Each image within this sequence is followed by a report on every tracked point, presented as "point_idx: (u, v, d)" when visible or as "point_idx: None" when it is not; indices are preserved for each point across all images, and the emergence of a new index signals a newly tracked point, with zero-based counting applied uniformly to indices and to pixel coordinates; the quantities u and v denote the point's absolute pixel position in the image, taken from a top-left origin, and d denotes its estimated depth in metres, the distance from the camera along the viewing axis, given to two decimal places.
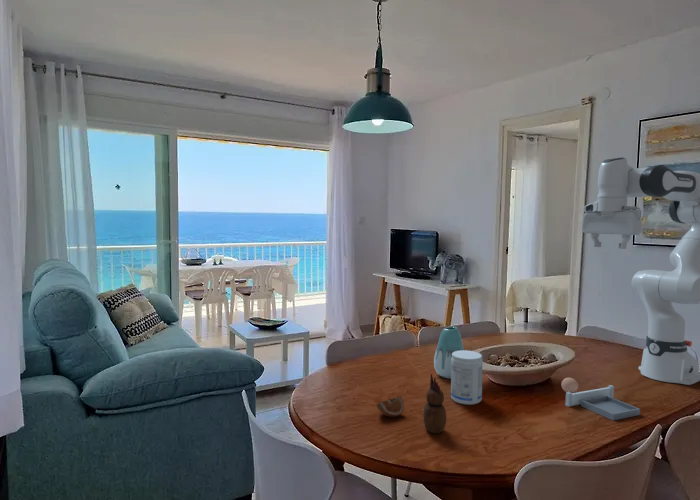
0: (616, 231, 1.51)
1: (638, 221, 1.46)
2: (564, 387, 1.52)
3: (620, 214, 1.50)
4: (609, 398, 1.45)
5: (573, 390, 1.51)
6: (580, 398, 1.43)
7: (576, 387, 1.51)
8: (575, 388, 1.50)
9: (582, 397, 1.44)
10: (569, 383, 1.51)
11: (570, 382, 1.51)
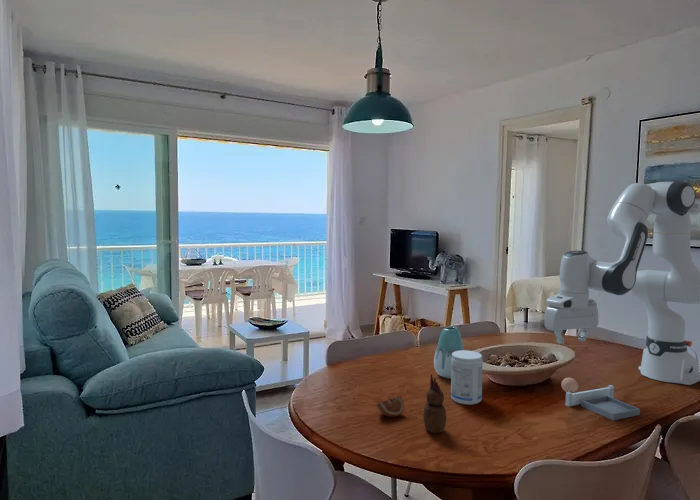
0: (584, 325, 1.51)
1: None
2: (564, 387, 1.52)
3: (588, 308, 1.51)
4: (609, 398, 1.45)
5: (573, 390, 1.51)
6: (580, 398, 1.43)
7: (576, 387, 1.51)
8: (575, 388, 1.50)
9: (582, 397, 1.44)
10: (569, 383, 1.51)
11: (570, 382, 1.51)
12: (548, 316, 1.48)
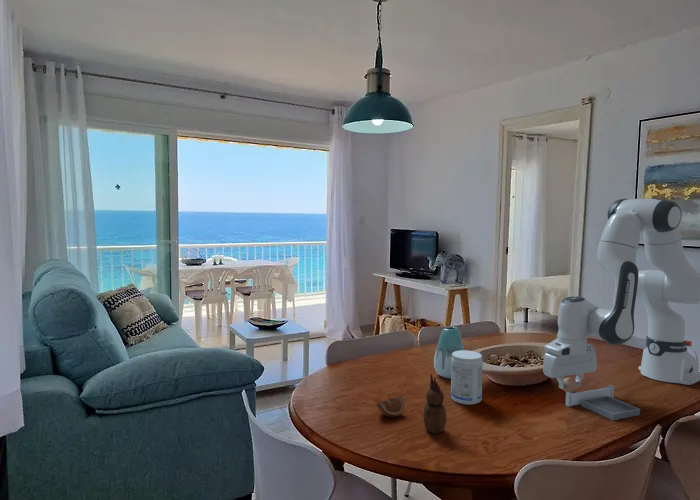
0: (583, 370, 1.52)
1: None
2: None
3: (586, 354, 1.52)
4: (609, 398, 1.45)
5: (573, 390, 1.51)
6: (580, 398, 1.43)
7: (576, 387, 1.51)
8: (575, 388, 1.50)
9: (582, 397, 1.44)
10: (569, 383, 1.51)
11: (570, 382, 1.51)
12: (546, 363, 1.49)
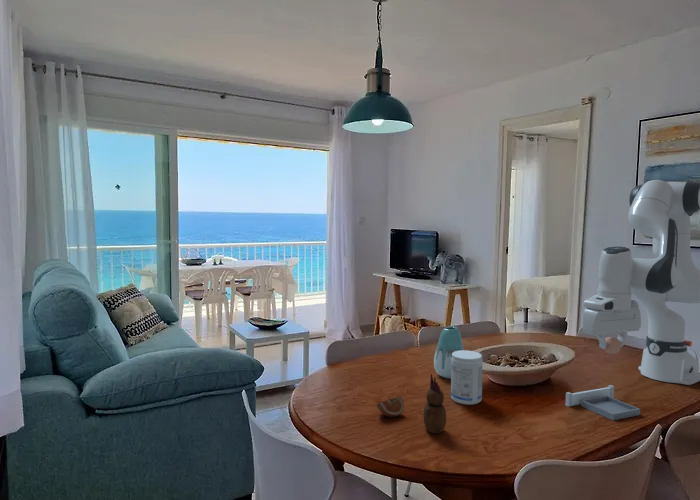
0: (626, 328, 1.37)
1: None
2: None
3: (630, 310, 1.37)
4: (609, 398, 1.45)
5: (616, 350, 1.36)
6: (580, 398, 1.43)
7: (619, 347, 1.36)
8: (618, 348, 1.36)
9: (582, 397, 1.44)
10: (611, 342, 1.36)
11: (612, 341, 1.36)
12: (587, 319, 1.34)
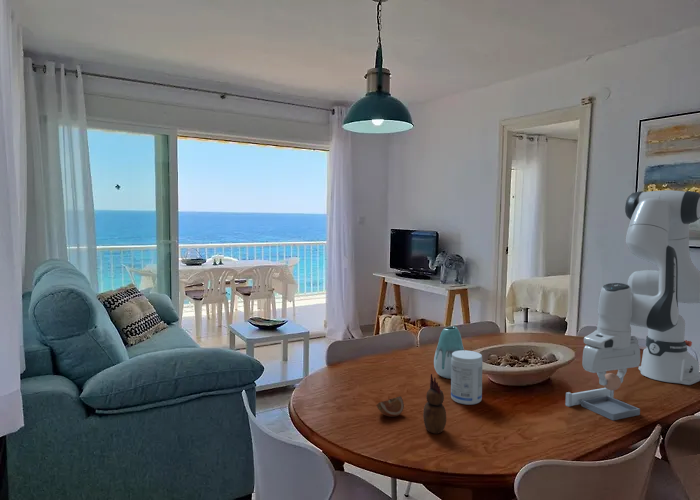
0: (626, 365, 1.38)
1: None
2: None
3: (629, 347, 1.38)
4: (609, 398, 1.45)
5: (616, 387, 1.36)
6: (580, 398, 1.43)
7: (619, 383, 1.36)
8: (618, 384, 1.36)
9: (582, 397, 1.44)
10: (611, 379, 1.36)
11: (612, 378, 1.36)
12: (587, 356, 1.35)
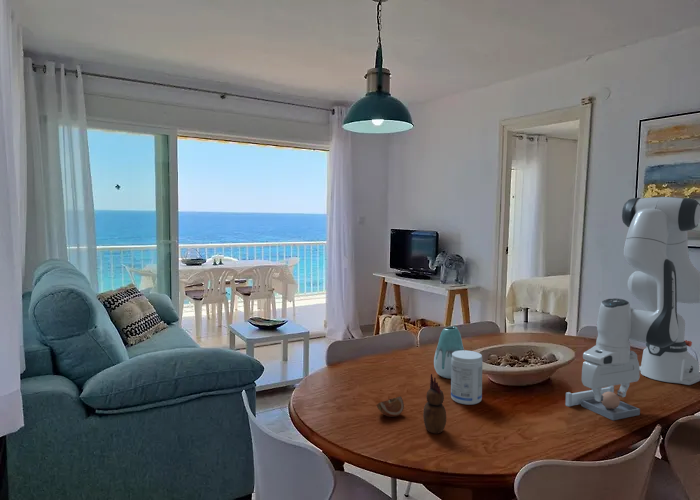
0: (625, 380, 1.38)
1: None
2: (604, 402, 1.38)
3: (628, 362, 1.38)
4: None
5: (615, 406, 1.37)
6: (580, 398, 1.43)
7: (618, 402, 1.37)
8: (617, 403, 1.37)
9: (582, 397, 1.44)
10: (610, 398, 1.37)
11: (611, 397, 1.37)
12: (586, 372, 1.35)
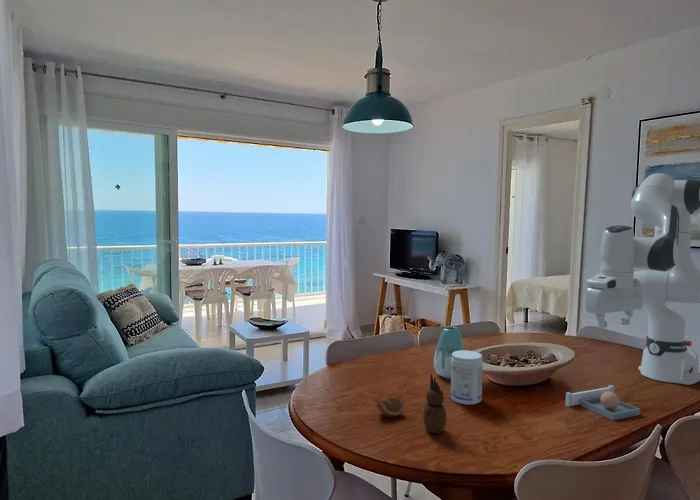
0: (629, 307, 1.38)
1: None
2: (604, 403, 1.38)
3: (632, 289, 1.38)
4: None
5: (614, 406, 1.37)
6: (580, 398, 1.43)
7: (618, 402, 1.37)
8: (617, 404, 1.36)
9: (582, 397, 1.44)
10: (609, 398, 1.37)
11: (611, 398, 1.37)
12: (589, 298, 1.35)
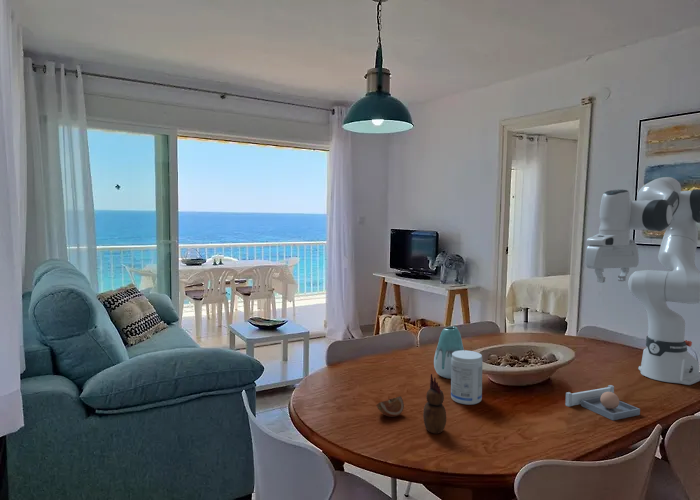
0: (625, 264, 1.50)
1: None
2: (604, 403, 1.38)
3: (628, 247, 1.51)
4: None
5: (614, 406, 1.37)
6: (580, 398, 1.43)
7: (617, 402, 1.37)
8: (616, 404, 1.36)
9: (582, 397, 1.44)
10: (609, 399, 1.37)
11: (610, 398, 1.37)
12: (589, 254, 1.47)
